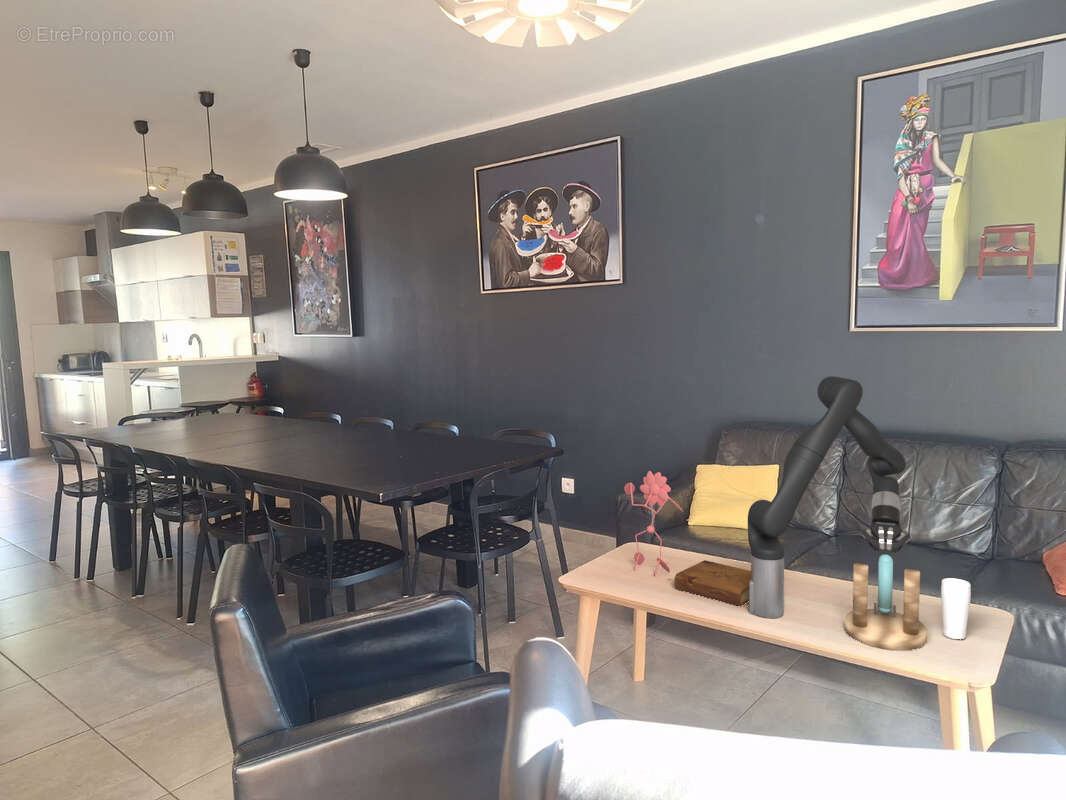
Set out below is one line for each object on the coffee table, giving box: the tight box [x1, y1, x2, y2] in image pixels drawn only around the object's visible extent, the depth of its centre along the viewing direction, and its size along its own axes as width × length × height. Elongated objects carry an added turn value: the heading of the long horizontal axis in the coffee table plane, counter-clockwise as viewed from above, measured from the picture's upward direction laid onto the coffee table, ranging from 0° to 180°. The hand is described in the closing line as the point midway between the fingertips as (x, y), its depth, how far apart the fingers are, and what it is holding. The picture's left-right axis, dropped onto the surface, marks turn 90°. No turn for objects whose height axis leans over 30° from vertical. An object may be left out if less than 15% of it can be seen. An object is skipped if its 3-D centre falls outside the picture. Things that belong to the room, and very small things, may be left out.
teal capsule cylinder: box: [877, 554, 894, 614], centre depth 194 cm, size 4×4×17 cm
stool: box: [843, 562, 928, 652], centre depth 187 cm, size 20×20×20 cm
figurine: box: [623, 470, 684, 581], centre depth 244 cm, size 15×26×35 cm, turn 43°
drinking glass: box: [940, 577, 972, 641], centre depth 185 cm, size 7×7×15 cm
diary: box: [674, 559, 751, 608], centre depth 223 cm, size 23×19×6 cm
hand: (885, 563), depth 196 cm, fingers closed
